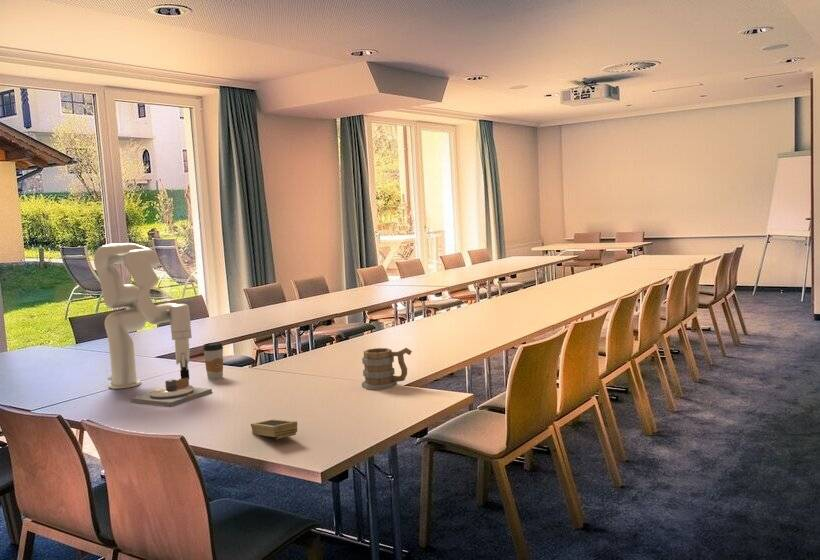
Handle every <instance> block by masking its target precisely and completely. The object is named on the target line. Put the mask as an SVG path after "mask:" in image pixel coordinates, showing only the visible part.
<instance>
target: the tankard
mask: <svg viewBox="0 0 820 560" xmlns="http://www.w3.org/2000/svg"><path fill="white" fill-rule="evenodd" d="M412 352H413V351H412V350H411V349H409V348H407V347H405V348H403V349H401V350H398V351H392V349H390V348H387V347H375V348H369V349H366V350H363V357H362V359H361V360H362V361H361V362H362V364H363V365H364V369H363V370H362V376H363V377H364V380H363V382H361V387H362V388H364V389H366V390H371V391H372V390H373V391H381V390H382V391H383V390H388V389H393V388H395V386H397V385H398V382H403V381H406V378H407V376H408V367H407V365H406V362H405V358H404V355H405V354H407V355H409V356H410V355H411V354H412ZM395 357H397V362H398V365H399V368H400V370H401V374H400V375H395V374H396V373H395V372H396V371H395V367H393V363H394V362H395Z"/></svg>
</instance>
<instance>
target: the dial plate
mask: <svg viewBox="0 0 820 560" xmlns="http://www.w3.org/2000/svg"><path fill="white" fill-rule="evenodd" d="M212 389H213V388H206V387H196V386H195V387H194V386H193V392H191V393H189V394H186V395H182V396H177V397H170V398H153V397H150V392H146V393H143V394H140V395H138V396H133V397H130V403H136V404H144V405H145V404H146V405H156V406H164V407H174V406H176V405H179V404H182V403H185V402H188V401H191V400H195V399H197V398H200V397H203V396H206V395H209V394H212V393H213V390H212Z"/></svg>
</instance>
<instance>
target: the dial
mask: <svg viewBox="0 0 820 560" xmlns="http://www.w3.org/2000/svg"><path fill="white" fill-rule="evenodd" d="M164 384H165V385H164V386H161V387H157V388H154V389H152V390H149V393H150V397H153V398H170V397H177V396H182V395H186V394H189V393H191V392H193V387H194V386H193V385H190V377H189V378H188V377H185V378H181V377H180V378H179V379H167V380H165V383H164Z"/></svg>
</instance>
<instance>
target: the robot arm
mask: <svg viewBox="0 0 820 560" xmlns="http://www.w3.org/2000/svg"><path fill="white" fill-rule="evenodd" d="M159 261H160V260H159V256H158V253H157V252H156V251H155V250H154V249H152V248H149V247H146V246H143V245H141V244H137V243H133V242H124V243H123V242H122V243H121V242H119V243H109V244H108V243H107V244H104V245H101V246H100V247H98V248H97V249H96V250H95V253H94V255H93V264H94V268H95V270H96V273H97V275H98V279H99V284H100V288H101V294H102V298H103V302H104V305H105V306H106V308H107V309H113V310H114V309H121V308H125V310H119V311H113V312H111V313H109V314H108V315H107V316H106V317H105V318H104V319H105V320H104V329H105V332H106V336H107V339H108V346H109V347H108V349H109V359H110V371H111V374H110V376H108V377H107V380H108V381H110V382H111V383H109V384H108V388H109V389H113V390H117V389H118V390H119V389H120V390H121V389H129V388H133V387H134V388H135V387H137V386H139V385H141V384H142V381H141V380H140V379H138V378H137V369H136V357H135V355H136V354H135V346H134V344H135V343H134V341H133V339H132V337H131V336H130V334H129V333H131V332H133V333H134V332H137V331H140V330H142V329H144V327H146V324H147V322H148V323H149V324H151V325H159V324H164V323H169V322H170V330H171V331H170V332H171V340H172V341H174V349H175V350H174V352H175V363H176V365H179V367H180V369H179V370H180V379H181V378H185V377H188V378H189V379H190V369H189V365H188V364H189V363H190V340H189V339H192V327H191V325H192V324H191V317H190V315H191V314H190V306H189V305H188V304H186V303H174V302H165V303H161V304H155V303H154V301H153V299H152V298H151V294H150V292H151V290H152V289H153V288H154V287H156V285H157V284H158V283H159V277H158V276H157V273H156V272H155V271H154V269H155V268H156V267H157V266H159ZM119 264H124V265H125V267H126V269H127V270H128V272H129V274H130V276H131V277H132V279H133V281H134V282H135V284H136V285H135V284H133V283H132V284H131V283H127V284H124V283H123V279H122V275H121V273H120V271H119V269H118V268H117V267H116V266H115V265H119Z"/></svg>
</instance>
